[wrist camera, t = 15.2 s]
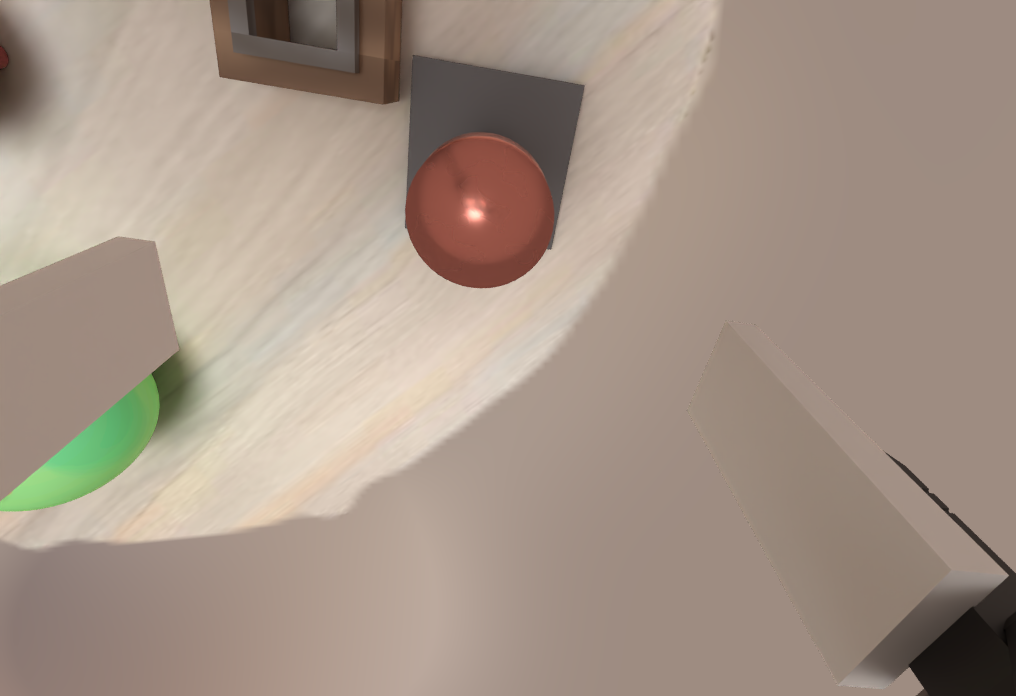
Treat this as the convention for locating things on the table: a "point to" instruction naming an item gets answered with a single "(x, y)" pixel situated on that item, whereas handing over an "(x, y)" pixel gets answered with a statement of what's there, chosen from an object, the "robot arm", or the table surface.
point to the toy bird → (92, 453)
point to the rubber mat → (493, 115)
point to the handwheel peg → (480, 211)
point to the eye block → (312, 49)
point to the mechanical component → (3, 58)
